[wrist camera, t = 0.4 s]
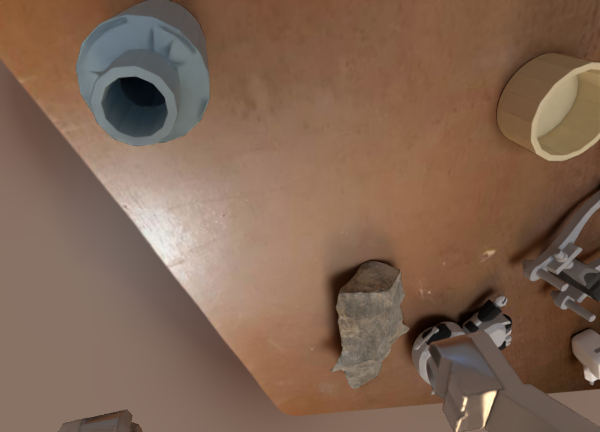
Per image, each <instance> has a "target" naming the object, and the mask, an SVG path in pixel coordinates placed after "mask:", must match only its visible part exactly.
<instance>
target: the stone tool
mask: <svg viewBox="0 0 600 432" xmlns="http://www.w3.org/2000/svg"><path fill="white" fill-rule="evenodd" d="M404 297H405V293H404V291H403V288H402V284H401V271H400V269H397V268H394V267H391V266H389V265H387V264H385V263H381V262H376V261H368V262H365V263H363V264H362V265H361V266H360V267H359V269H358V271H357V273H356V274H355V275H354V276H353V278H352V279H351V280H350V281H349V282H348V283H347V284H346V285H345V286H343V287H342V288H341V289H340V293H339V295H338V302H337V305H336V310H337V312H338V314H339V318H338V325H339V330H340V335H341V345H342V353H341V355H340V357H339V358H338V360H337V362H336V365H335V366H334V367H333V368H332V369H331V372H335V371H337V370H343V371H344V373H345V375H346V379H347V380H348V384H349V385H350V386H351V387H352V388H358V387H360V386H361V385H363V384H364V383H366V382H367V381H369V380H371V379H373V378H375V377H376V376H378V375H379V372H380V370H381V367H382V361H383V360H384V359H385V358H386V357H387V356H388V355H389V353H390V350H391V346H392V344H393V343H394V342H395V341H396V340H397V339H398V338H399V337H400V336H401V335H402V334H405V333H406V332H407V331H408V330H409V327H407V326H405V325H404V324H403V322H402V319H403V317H402V312H401V308H400V304H401V302H402V300H403V298H404Z"/></svg>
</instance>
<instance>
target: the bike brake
mask: <svg viewBox="0 0 600 432" xmlns="http://www.w3.org/2000/svg"><path fill="white" fill-rule="evenodd" d="M599 207H600V191H598V192H597V193H596V194H595V195H594V196H593V197H592V198H590V199H589V200H588V201H587V202H586V203H585V204H584V205H583V206H582V207H581V208H580V209H579V210H578V212H577V213H576V214H575V215H574V217H573V218H572V219H571V221H570V222H569V223H568V224H567V226H566V227H565V228H564V230H563V231H562V232H561V233H560V235H559V236H558V237H557V238H556V239H555V240H554V242H553V243H552V244H551V245H550V246H549V247H548V248H547V250H546V251H545V252H543V253H542V254H541V255H540V256H539V257H538V258H536V259H535V260H534V261H533V260H524V261H523V262H522V266H523V269H524V276H525V277H526V278H528V279H529V280H531V281H536V280H538V279H540V278H542V279H543V280H545V281H547V282H548V283H550V284H551V285H553V286H555V287H556V288H558V289H559V291H556V290H554V291H552V292H551V294H550V295H551V296H552V300H553V301H554V303H555V305H557V306H558V307H560V308H561V309H567V308H570V309H571V310H573V311H574V312H576V313H577V314H579V315H580V316H582V317H583V318H585V319H586V320H588V321H589V322H592V321H593V320H594V319H595V318H596V316H595V315H593V314H592V313H590V312H589V311H587V310H586V309H584V308H582V307H581V306H579V305H578V304H576V303H575V302H574V301H575V300H576V301H578V302H579V303H581V302H582V300H583V299H584V298H585V297H586V296H589V297H591V298H593V299H595V300H597V301H599V300H600V257H599V258H598V259H596V260H594V261H592V262H591V263H589V264H585V263H583V262H581V261H579V260H578V259H576V258H575V257H576V256H577V255H578V254H579V253H580V252H581V251H582V250H583V249H581V248H579V247H577V246H575V245H573V244H574V242H575V240H576V238H577V237H578V235H579V233H580V231H581V230H582V228H583V226H584V224H585V223H586V222H587V220H588V219H589V218H590V217H591V215H592V214H593V213H594V212H595V211H596V210H597V209H598V208H599ZM548 270H549V271H551V273H552V274H554V275H555V276H557V277H559V278H560V279H562V280H564V281H565V282H567V283H569V284H566V283H564V282H563V281H561V280H560V279H558V278H556V277H555V276H553V275H552V274H550V273H548V272H547V271H548ZM560 290H561V291H560Z"/></svg>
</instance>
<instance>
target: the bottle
mask: <svg viewBox="0 0 600 432" xmlns="http://www.w3.org/2000/svg"><path fill="white" fill-rule="evenodd" d="M76 72H77V77H78V83H79V88H80V93H81V95H82V97H83V99H84V100H85V102H86V103H87V105H88V107H89V108H90V110H91V111H92V113H93V115H94V116H95V119H96V122H97V123H98V124H99V125H100V126H101V127H102V128H103V129H104V130H105V131H106V132H107V133H108V134H109V135H110V136H111V137H112V138H113V139H115V140H118V141H121V142H124V143H126V144H129V145H132V146H143V145H153V144H157V143H165V142H168V141H171V140H174V139H176V138H179V137H182V136H184V135H186V134H187V133H188V132H189V131H190V130H191V129H192V128H193V127H194V126H195V125H196V124H198V123H199V122H200V121H201V119H202V117H203V114H204V112H205V110H206V107H207V105H208V102H209V99H210V84H209V68H208V59H207V50H206V41H205V37H204V35H203V32H202V29H201V27H200V25H199V23H198V21H197V20H196V19H195V18H194V16H193V15H192V14H191V13H190V12H189V11H188V10H187V9H185V8H184V7H182V6H181V5H179V4H177V3H175V2H172V1H170V0H147V1H144V2H141V3H138V4H136V5H134V6H132V7H130V8H128V9H126V10H125V11H123V12H121V13H119V14H117V15H115V16H113V17H111V18H109V19H107V20H105V21H104V22H102V23H100V24H99V25H98V26H97V27H96V28H95V29H94V30H93V31H92V32H91V33H90V34H89V36H88V37H87V38H86V39H85V40H84V41H83V43H82V45H81V49H80V53H79V57H78V61H77V65H76Z"/></svg>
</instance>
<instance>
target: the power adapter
mask: <svg viewBox="0 0 600 432" xmlns="http://www.w3.org/2000/svg"><path fill="white" fill-rule="evenodd" d="M572 350H573V353H574V355H575V356H576V358H577V359H578V360H579V361H580V362H581V363H582V364H583V369H584V377H585V379H587V380H589V383H590V384H591V385H593V384H594V380H597V379H600V335H599V334H597V333H596V332H595V331H594V330H592V329H588V330H585V331H583V332H581V333H579V334H577V335H576V336H574V337H573V338H572Z"/></svg>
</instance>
